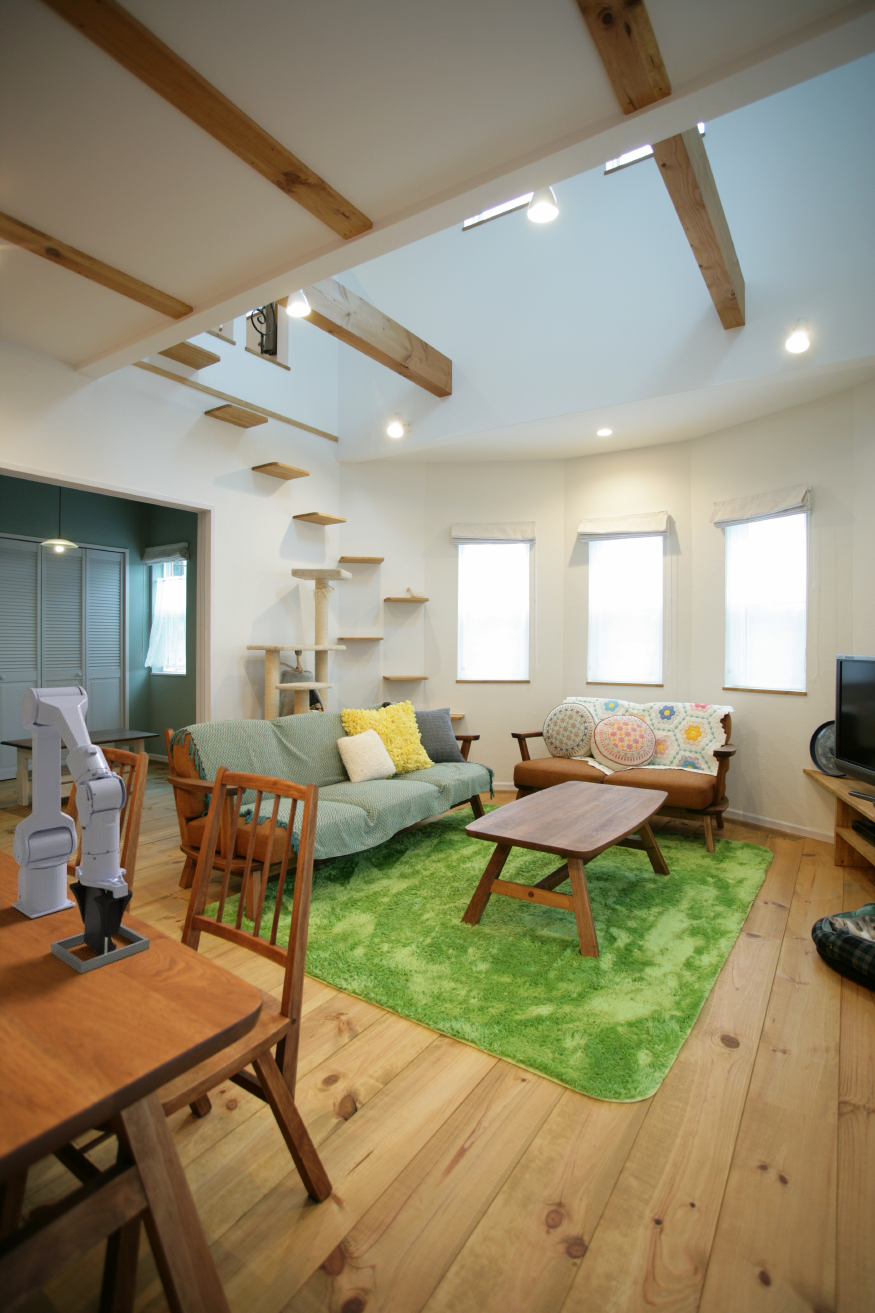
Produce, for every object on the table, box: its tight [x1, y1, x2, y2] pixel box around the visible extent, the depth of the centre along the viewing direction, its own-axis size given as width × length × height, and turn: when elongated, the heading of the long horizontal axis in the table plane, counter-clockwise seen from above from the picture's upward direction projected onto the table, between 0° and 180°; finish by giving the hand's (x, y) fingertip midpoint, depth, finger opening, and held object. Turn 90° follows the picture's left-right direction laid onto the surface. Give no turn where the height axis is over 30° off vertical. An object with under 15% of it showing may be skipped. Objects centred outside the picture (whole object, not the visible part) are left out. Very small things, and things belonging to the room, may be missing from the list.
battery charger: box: [83, 886, 118, 956], centre depth 112 cm, size 7×4×11 cm, turn 51°
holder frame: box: [50, 923, 150, 975], centre depth 111 cm, size 11×11×2 cm
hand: (100, 928), depth 111 cm, fingers open, 7 cm apart
